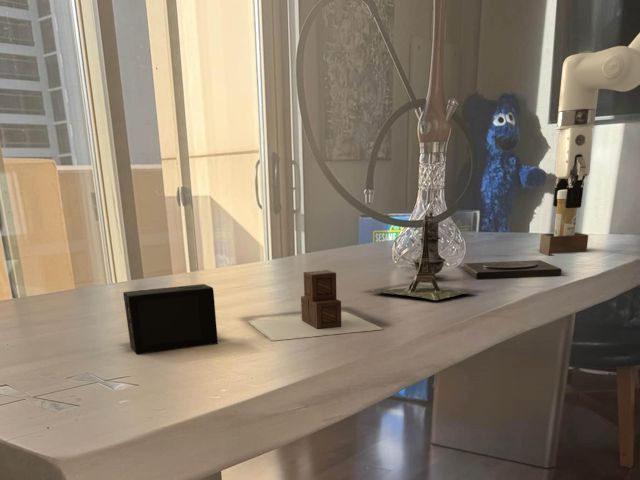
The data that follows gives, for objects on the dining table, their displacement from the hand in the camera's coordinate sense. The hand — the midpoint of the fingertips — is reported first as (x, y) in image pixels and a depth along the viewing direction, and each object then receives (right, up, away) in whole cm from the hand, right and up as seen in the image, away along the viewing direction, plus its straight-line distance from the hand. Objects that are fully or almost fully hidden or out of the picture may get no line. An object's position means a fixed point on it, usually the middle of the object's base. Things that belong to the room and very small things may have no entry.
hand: (566, 206), depth 155 cm
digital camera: (-78, -44, -67) cm, 112 cm away
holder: (+1, -9, +4) cm, 10 cm away
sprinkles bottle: (+1, -9, +4) cm, 10 cm away
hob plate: (-20, -21, -22) cm, 36 cm away
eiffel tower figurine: (-41, -31, -41) cm, 65 cm away
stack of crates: (-60, -40, -60) cm, 94 cm away
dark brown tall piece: (-36, -24, -25) cm, 51 cm away
